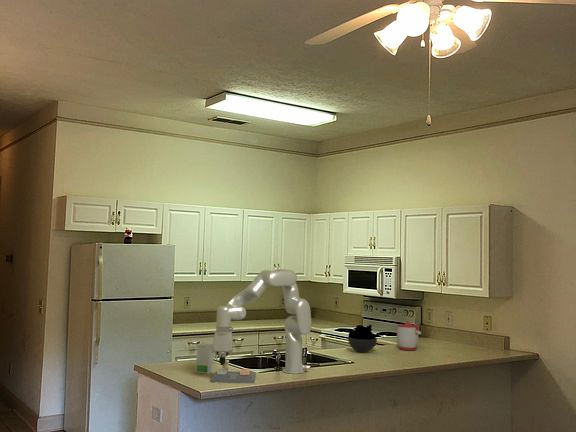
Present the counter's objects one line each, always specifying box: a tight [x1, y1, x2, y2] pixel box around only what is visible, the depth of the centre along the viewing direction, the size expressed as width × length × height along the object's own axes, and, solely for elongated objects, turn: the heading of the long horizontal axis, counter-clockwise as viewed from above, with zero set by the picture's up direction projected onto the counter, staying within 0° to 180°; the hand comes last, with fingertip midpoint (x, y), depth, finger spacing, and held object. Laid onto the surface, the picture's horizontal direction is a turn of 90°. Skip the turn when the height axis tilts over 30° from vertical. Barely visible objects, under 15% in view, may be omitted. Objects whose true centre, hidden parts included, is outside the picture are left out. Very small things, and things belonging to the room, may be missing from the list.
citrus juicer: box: [396, 320, 422, 352], centre depth 435 cm, size 16×17×20 cm
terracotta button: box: [239, 368, 251, 375], centre depth 323 cm, size 5×5×2 cm
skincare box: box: [195, 342, 215, 375], centre depth 344 cm, size 8×7×16 cm
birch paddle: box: [221, 359, 230, 370], centre depth 334 cm, size 4×3×6 cm
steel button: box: [216, 368, 229, 375], centre depth 323 cm, size 5×5×2 cm
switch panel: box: [211, 370, 257, 384], centre depth 328 cm, size 22×19×4 cm
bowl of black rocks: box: [347, 324, 378, 353], centre depth 420 cm, size 20×20×19 cm
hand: (222, 364), depth 323 cm, fingers closed
